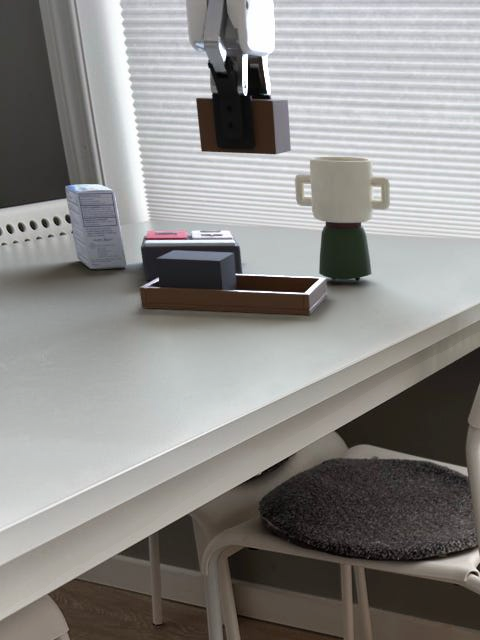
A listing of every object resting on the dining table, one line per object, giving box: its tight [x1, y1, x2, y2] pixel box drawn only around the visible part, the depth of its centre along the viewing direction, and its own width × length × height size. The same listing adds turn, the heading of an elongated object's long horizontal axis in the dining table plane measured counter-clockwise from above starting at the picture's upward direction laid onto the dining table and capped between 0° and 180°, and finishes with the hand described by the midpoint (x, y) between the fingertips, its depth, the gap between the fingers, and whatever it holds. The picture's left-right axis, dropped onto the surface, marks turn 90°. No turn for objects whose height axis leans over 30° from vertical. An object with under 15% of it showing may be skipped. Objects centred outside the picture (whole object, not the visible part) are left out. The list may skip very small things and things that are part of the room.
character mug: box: [294, 156, 391, 282], centre depth 110 cm, size 11×7×13 cm, turn 85°
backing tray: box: [138, 273, 328, 316], centre depth 100 cm, size 17×10×2 cm, turn 88°
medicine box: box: [64, 183, 127, 270], centre depth 115 cm, size 8×4×9 cm, turn 30°
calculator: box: [140, 229, 243, 281], centre depth 115 cm, size 11×4×15 cm
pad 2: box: [195, 96, 292, 155], centre depth 82 cm, size 6×6×4 cm
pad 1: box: [156, 250, 237, 290], centre depth 99 cm, size 6×6×4 cm
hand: (246, 144), depth 83 cm, fingers closed on pad 2, 5 cm apart
